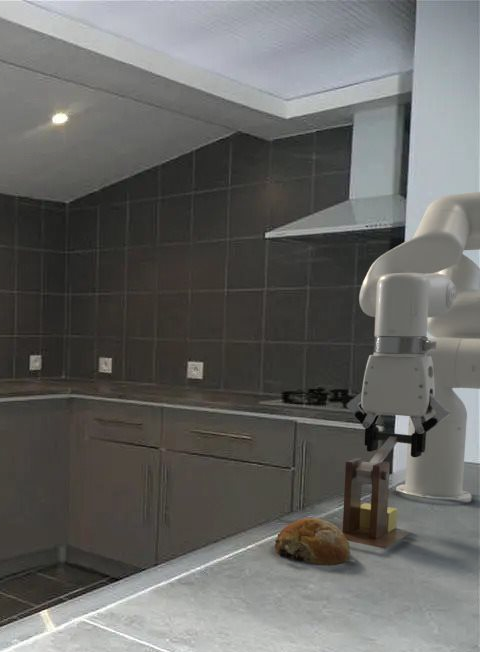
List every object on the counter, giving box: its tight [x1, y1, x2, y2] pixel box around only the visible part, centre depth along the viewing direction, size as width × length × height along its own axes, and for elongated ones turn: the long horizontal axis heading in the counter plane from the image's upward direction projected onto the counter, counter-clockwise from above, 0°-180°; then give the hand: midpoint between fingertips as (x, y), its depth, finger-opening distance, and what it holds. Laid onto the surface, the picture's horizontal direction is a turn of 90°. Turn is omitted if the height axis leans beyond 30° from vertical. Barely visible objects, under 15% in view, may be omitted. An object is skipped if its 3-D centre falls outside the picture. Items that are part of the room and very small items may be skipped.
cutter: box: [334, 457, 412, 550], centre depth 115 cm, size 12×10×13 cm
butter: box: [359, 502, 399, 532], centre depth 118 cm, size 4×5×3 cm
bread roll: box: [274, 517, 352, 566], centre depth 105 cm, size 10×10×8 cm
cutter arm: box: [356, 431, 412, 486], centre depth 118 cm, size 15×6×2 cm, turn 131°
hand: (393, 452), depth 122 cm, fingers closed on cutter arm, 6 cm apart
